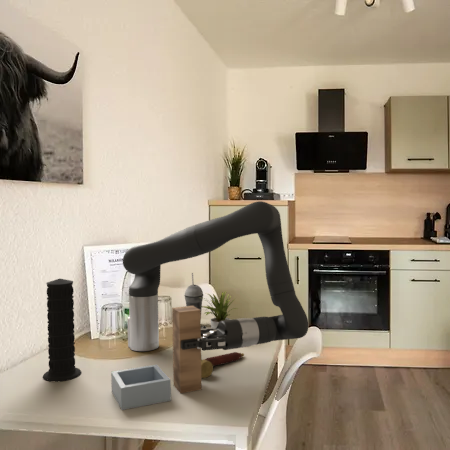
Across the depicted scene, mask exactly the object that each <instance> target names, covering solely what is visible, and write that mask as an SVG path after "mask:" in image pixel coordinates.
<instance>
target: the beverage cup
mask: <svg viewBox="0 0 450 450" xmlns="http://www.w3.org/2000/svg"><path fill="white" fill-rule="evenodd" d="M194 283H195V282H194V272H191V285H189V286H187V287H186V289H185V291H184V299H185V306H194V307H196V308H198V309H200V316H201V317H202V310H203V309H202V308H203V307H201V306H203V301H204V292H203V289H202V288H201V287H200V286H199V285H197V284H194Z"/></svg>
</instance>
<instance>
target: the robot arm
mask: <svg viewBox="0 0 450 450" xmlns="http://www.w3.org/2000/svg"><path fill="white" fill-rule="evenodd" d="M281 221H282V219H281V213H280V211H279V209H278V208H277V207H275V206H274V205H273V204H270V203H268V202H266V201H255V202H252V203H249V204H247V205H245V206H243V207H241V208H240V209H237V210H235V211H233V212H231V213H229V214H227V215H224V216H220V217H216V218H215V217H214V218H213V219H209V220H206V221H203V222H199V223H197V224H194V225H191V226H188V227H186V228H183V229H180V230H178V231H177V232H176V231H175V232H174V233H171V234H169V235H167V236H165V237H163V238H161V239H159V240H156V241H152V242H148V243H144V244H140V245H139V244H137V245H134V246H131V247H130V248H128V249H127V250H126V251H125V253H124V254H123V258H122V266H123V268H124V269H125V270H126V272H128V273H130V274H133V275H134V279H133V281H132V283H131V284H130V285H129V287H128V310H129V311H128V312H129V316H128V318H127V347H128V348H129V349H130V350H132V351H135V352H149V351H153V350H156V349H158V348H159V345H160V344H159V343H160V341H159V340H160V338H159V337H160V336H159V330H160V329H159V288H160V284H161V283H160V282H161V265H165V264H168V263H172V262H177V261H184V260H187V259H192V258H195V257H199V256H202V255H205V254H208V253H211V252H213V251H215V250H217V249H218V248H221V247H223V246H224V245H225V244H226V243H228V242H230V241H232V240H235V239H238V238H242V237H245V236H250V235H255V234H257V235H258V238H259V240H260V242H261V246H262V249H263V250H262V251H263V255H264V266H265V267H264V268H265V277H266V282H267V287H268V292H269V296H270V299H271V303H272V304H273V305H274V306H275V307H277V308H279V309H280V312H281V314H278V315H271V316H258V317H257V316H256V317H242V318H241V317H240V318H235V319H234V318H230V319H231V320H223V321H220V322H219V323H218V326H217V328H216V329H213V328H211V327H207V325H201V337H199V338H196V339H195V338H194V339H186V340H181V349H183V350H185V349H192V348H196V347H197V349H201V351H202V352H203V351H214V350H223V351H228V350H235V349H241V348H247V347H248V348H249V347H251V346H255V345H256V346H257V345H261V344H267V343H271V342H274V341H275V342H276V341H277V342H278V341H285V340H295V339H301V338H304V337H305V336H306V335H307V333H308V332H309V319H308V316H307V313H306V312H305V309H304V307H303V306H302V303H301V302H300V300H299V298H298V296H297V294H296V290H295V287H294V283H293V278H292V275H291V272H290V268H289V264H288V260H287V256H286V252H285V247H284V239H283V232H282V231H283V229H282V222H281Z"/></svg>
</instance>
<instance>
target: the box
mask: <svg viewBox="0 0 450 450" xmlns="http://www.w3.org/2000/svg"><path fill="white" fill-rule="evenodd" d="M110 373H111V374H110V376H111V380H110V381H111V393H112V395H113V397H114V398H115V400H116V403H117V404H118V406H119V408H120V409H121V410H120V411H124V410H128V409H133V408H140V407H145V406H149V405H150V406H151V405H155V404H160V403H165V402H170V401H172V389H171V388H172V387H171V385H172V384H171V383H172V382H171V381H172V380H171V378H170V377H169V376H168V375H167V374H166V373H165V372H164V371H163V369H162V368H161V367H160V366H159V365H158V364H153V365H152V364H151V365H144V366H139V367H138V366H137V367H133V368H132V367H131V368H126V369H119V370H118V369H117V370H114V371H111V372H110Z"/></svg>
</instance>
